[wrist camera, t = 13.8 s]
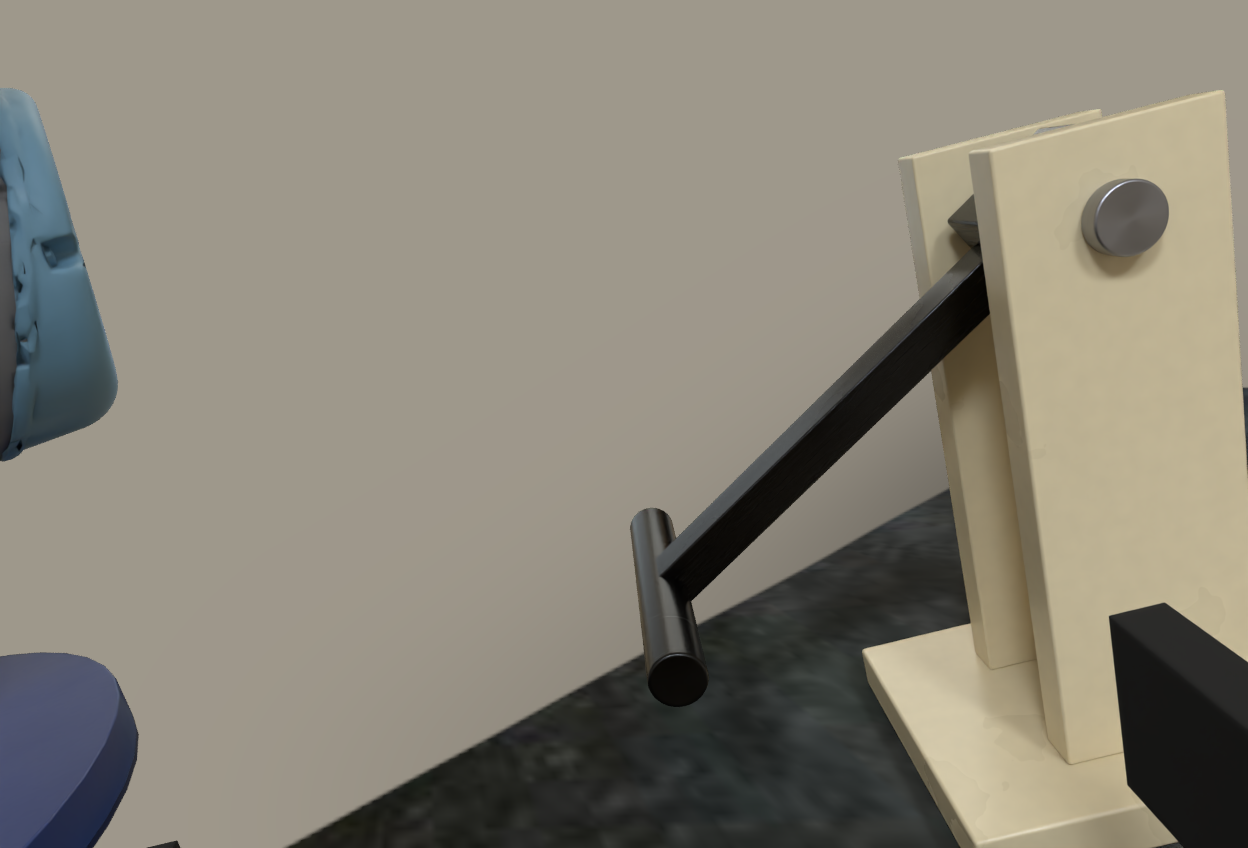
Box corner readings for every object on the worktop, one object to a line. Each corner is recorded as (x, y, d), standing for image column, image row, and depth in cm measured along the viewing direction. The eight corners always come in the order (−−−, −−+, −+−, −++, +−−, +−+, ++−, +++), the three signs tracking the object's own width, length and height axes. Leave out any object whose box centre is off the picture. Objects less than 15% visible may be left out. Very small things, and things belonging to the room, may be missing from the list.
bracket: (982, 889, 18) (863, 188, 15) (867, 682, 26) (770, 187, 22) (1453, 780, 18) (1460, 34, 14) (1196, 604, 26) (1155, 88, 22)
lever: (700, 737, 17) (612, 665, 17) (667, 567, 25) (605, 514, 24) (1274, 208, 15) (1191, 105, 14) (1041, 201, 23) (982, 135, 22)
